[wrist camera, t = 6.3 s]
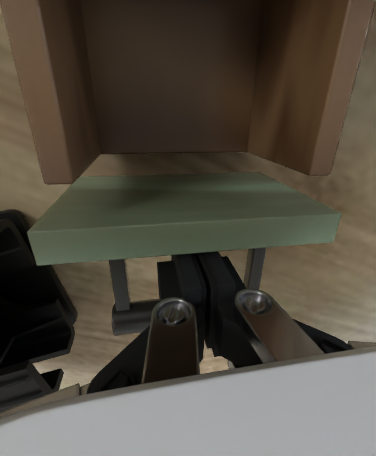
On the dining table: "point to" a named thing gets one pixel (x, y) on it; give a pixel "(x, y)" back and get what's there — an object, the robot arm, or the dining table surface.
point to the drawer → (182, 123)
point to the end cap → (29, 317)
